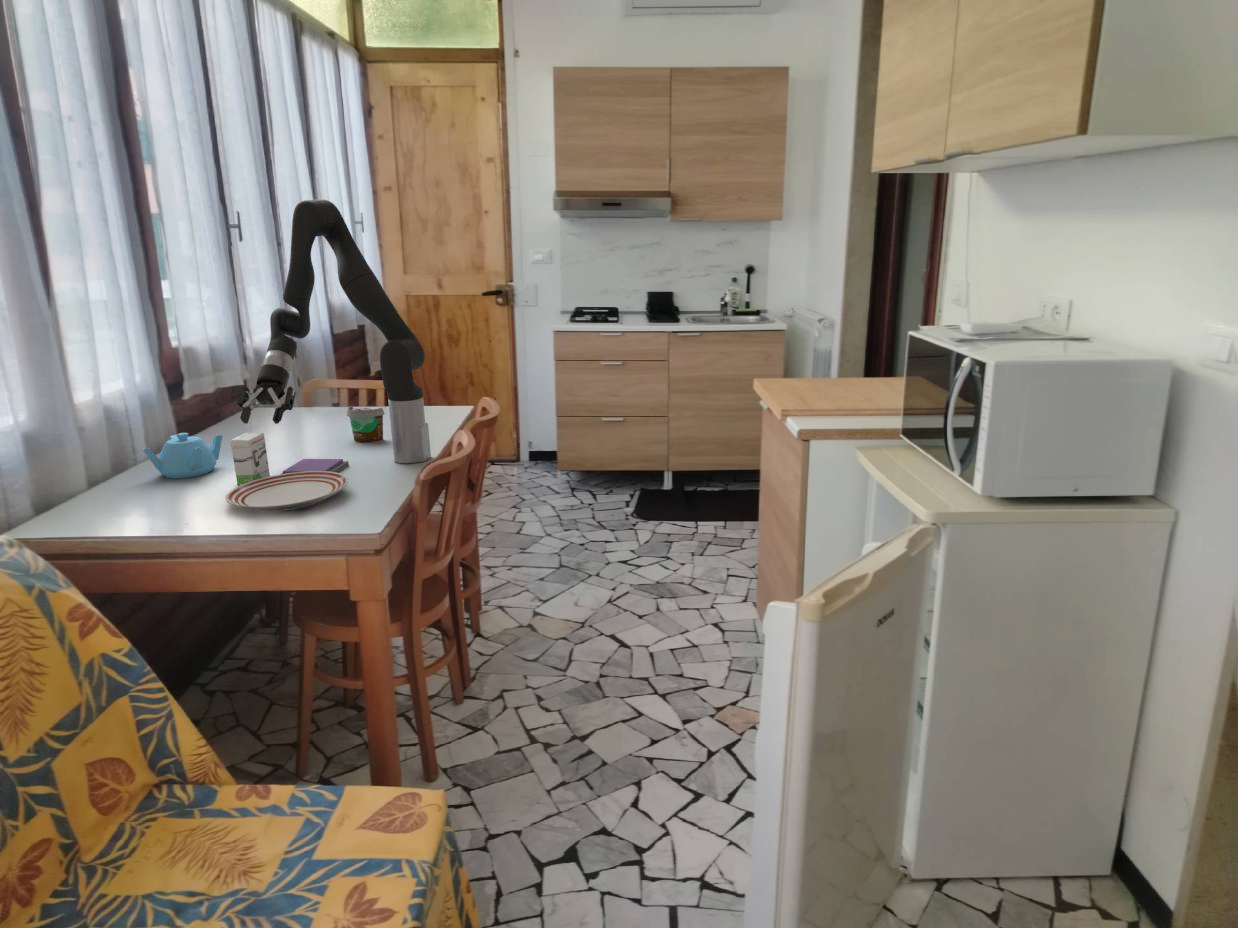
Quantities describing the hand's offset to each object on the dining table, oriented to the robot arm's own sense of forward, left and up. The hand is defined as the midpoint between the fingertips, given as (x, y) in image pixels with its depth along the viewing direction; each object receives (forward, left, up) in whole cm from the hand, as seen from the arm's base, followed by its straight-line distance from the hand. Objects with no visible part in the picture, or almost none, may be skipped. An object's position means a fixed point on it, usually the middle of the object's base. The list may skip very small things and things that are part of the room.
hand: (259, 422), depth 218 cm
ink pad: (-13, 0, -14) cm, 19 cm away
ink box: (0, +7, -14) cm, 16 cm away
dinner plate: (-17, +22, -14) cm, 31 cm away
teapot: (+22, 0, -14) cm, 26 cm away
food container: (-13, -34, -14) cm, 39 cm away
